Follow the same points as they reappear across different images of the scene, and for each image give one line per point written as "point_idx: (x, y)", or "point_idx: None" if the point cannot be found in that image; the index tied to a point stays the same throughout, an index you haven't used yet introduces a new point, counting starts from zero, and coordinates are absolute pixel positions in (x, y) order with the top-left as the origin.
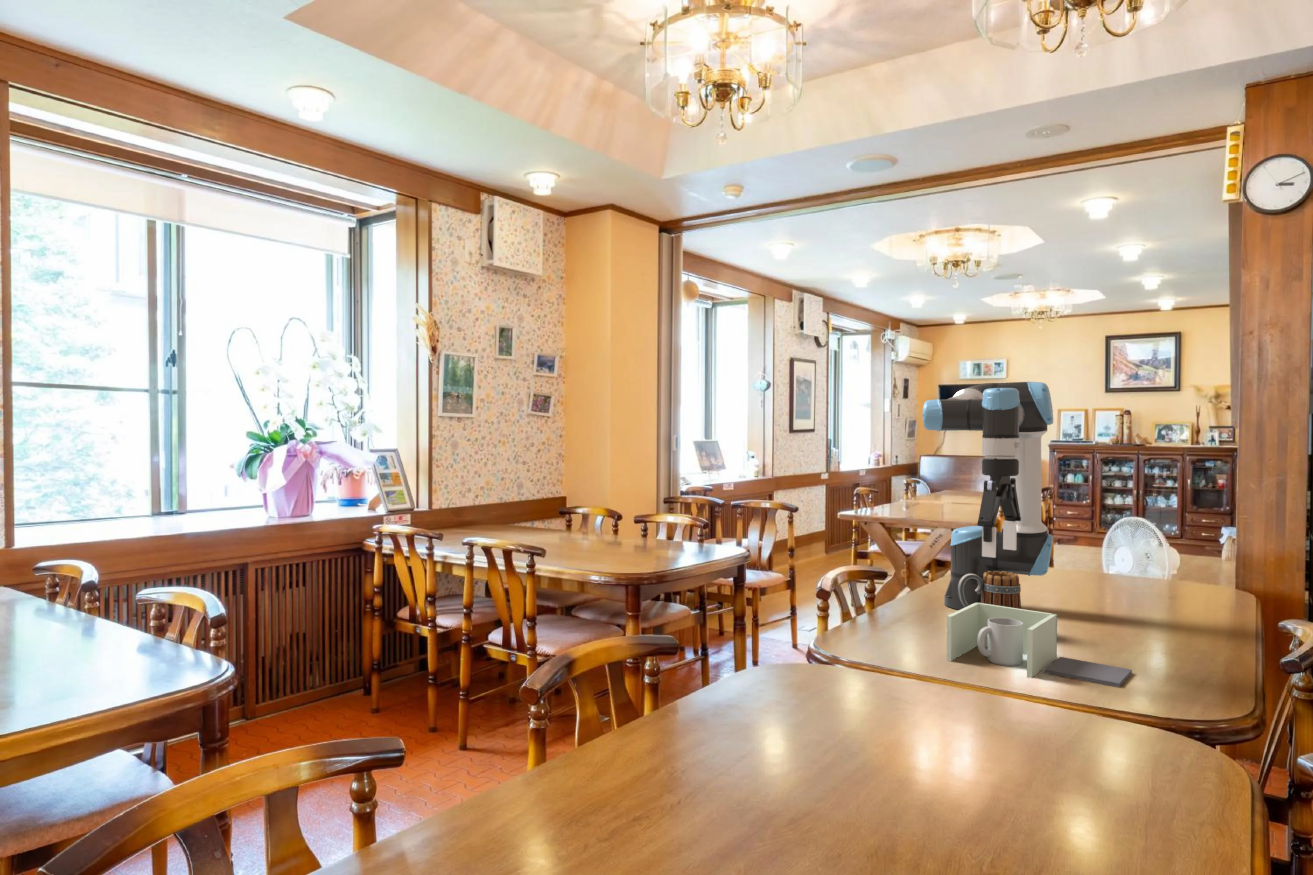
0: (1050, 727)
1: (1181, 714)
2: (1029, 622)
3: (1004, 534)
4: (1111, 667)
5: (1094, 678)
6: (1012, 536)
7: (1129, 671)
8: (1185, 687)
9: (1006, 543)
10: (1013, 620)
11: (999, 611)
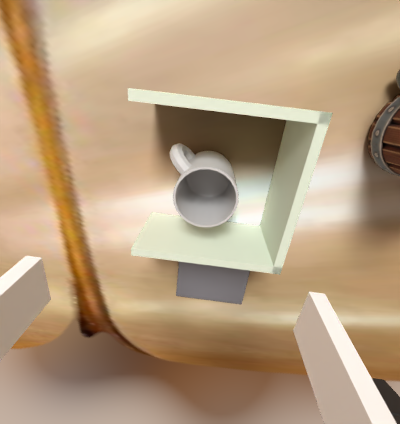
0: (3, 252)
1: (129, 329)
2: (278, 222)
3: (340, 368)
4: (238, 288)
5: (179, 276)
6: (319, 387)
7: (231, 302)
8: (216, 334)
9: (314, 327)
10: (233, 207)
11: (298, 172)
